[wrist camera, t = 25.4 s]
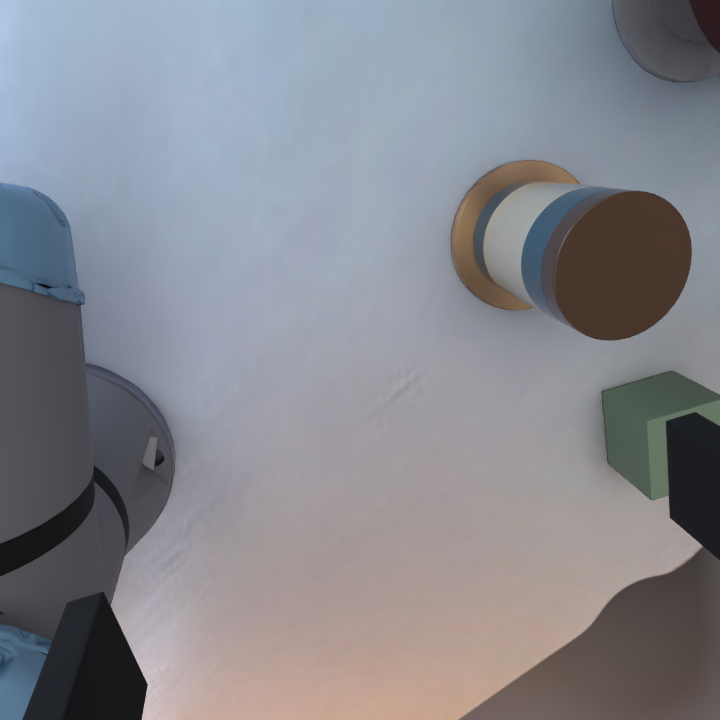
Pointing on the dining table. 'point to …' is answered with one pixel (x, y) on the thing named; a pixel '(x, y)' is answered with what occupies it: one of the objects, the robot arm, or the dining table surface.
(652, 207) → the jar
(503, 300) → the coaster
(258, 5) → the dining table surface
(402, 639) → the dining table surface
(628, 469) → the block
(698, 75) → the mate gourd
